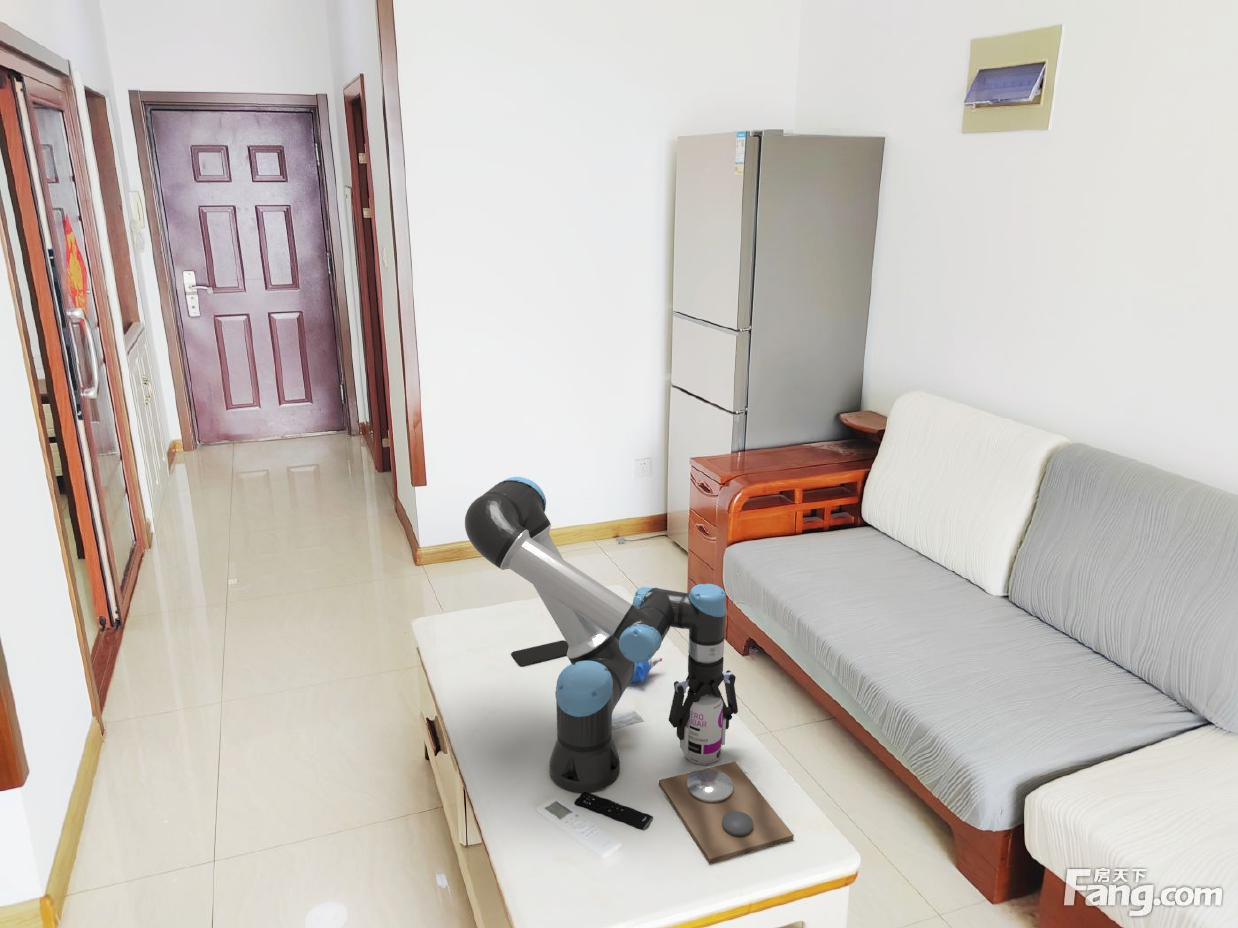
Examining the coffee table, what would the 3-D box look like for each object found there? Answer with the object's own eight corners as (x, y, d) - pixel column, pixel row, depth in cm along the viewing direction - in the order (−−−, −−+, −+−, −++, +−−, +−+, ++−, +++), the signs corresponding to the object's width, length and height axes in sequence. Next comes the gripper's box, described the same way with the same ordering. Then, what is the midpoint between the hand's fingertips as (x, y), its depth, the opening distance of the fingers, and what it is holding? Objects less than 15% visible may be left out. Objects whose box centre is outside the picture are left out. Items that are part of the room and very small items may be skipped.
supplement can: (720, 744, 199) (722, 686, 194) (720, 767, 191) (723, 707, 186) (684, 742, 200) (685, 684, 195) (683, 765, 192) (684, 705, 187)
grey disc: (730, 839, 168) (731, 835, 168) (716, 819, 174) (716, 815, 174) (758, 832, 171) (758, 827, 170) (743, 812, 176) (743, 807, 176)
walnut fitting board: (709, 863, 164) (709, 858, 164) (658, 784, 185) (658, 779, 185) (793, 839, 170) (793, 834, 170) (734, 765, 192) (735, 761, 191)
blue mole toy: (670, 686, 221) (671, 656, 219) (625, 693, 218) (625, 664, 215) (654, 662, 232) (654, 633, 230) (610, 669, 229) (611, 640, 226)
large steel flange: (699, 807, 177) (699, 803, 177) (679, 778, 185) (679, 774, 185) (741, 796, 180) (741, 792, 180) (720, 768, 189) (720, 764, 188)
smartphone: (564, 641, 243) (509, 654, 236) (564, 638, 243) (509, 651, 236) (576, 655, 236) (520, 668, 229) (576, 652, 236) (520, 665, 229)
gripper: (667, 673, 181) (665, 766, 188) (758, 654, 188) (752, 745, 195) (653, 655, 187) (651, 746, 194) (741, 638, 194) (736, 726, 201)
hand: (702, 745), depth 194 cm, fingers open, 8 cm apart
